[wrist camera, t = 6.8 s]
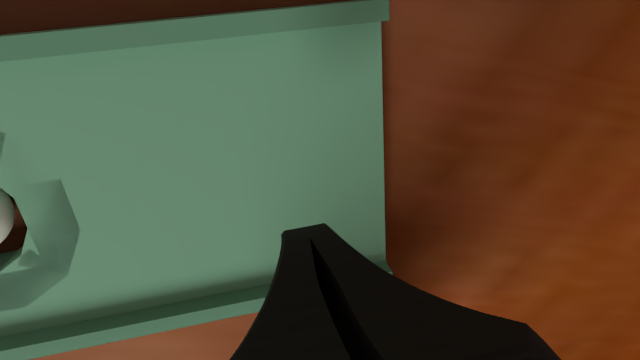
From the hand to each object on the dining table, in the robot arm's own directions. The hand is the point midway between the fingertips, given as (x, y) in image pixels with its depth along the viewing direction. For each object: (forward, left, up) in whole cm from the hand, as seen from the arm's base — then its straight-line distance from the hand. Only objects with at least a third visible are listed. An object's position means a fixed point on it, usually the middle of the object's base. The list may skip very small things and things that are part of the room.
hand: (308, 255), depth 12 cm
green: (0, +7, -9) cm, 12 cm away
